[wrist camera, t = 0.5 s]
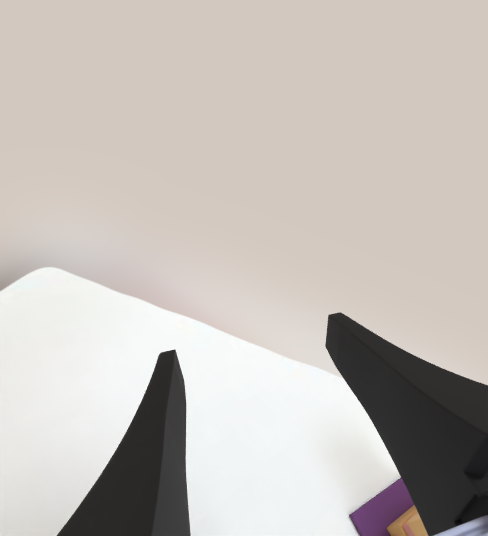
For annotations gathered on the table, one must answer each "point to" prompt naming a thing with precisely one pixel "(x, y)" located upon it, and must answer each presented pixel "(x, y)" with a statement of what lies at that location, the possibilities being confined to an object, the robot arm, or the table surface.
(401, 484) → the felt cloth
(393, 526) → the sandwich
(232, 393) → the table surface
